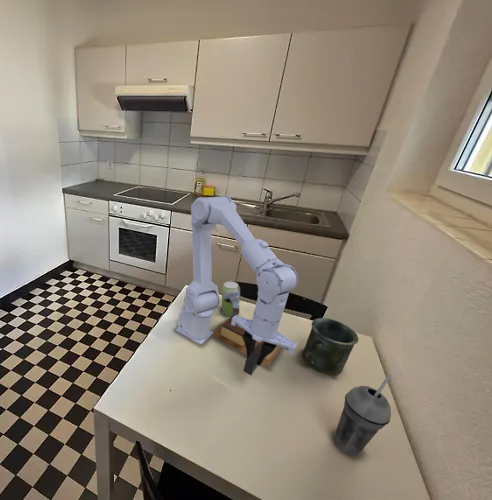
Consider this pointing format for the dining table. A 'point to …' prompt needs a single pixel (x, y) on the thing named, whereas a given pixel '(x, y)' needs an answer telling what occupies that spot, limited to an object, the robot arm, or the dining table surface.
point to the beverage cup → (362, 418)
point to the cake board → (241, 348)
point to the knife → (252, 360)
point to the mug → (329, 346)
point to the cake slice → (270, 353)
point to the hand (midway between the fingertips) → (254, 359)
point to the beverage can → (230, 298)
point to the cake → (233, 332)
